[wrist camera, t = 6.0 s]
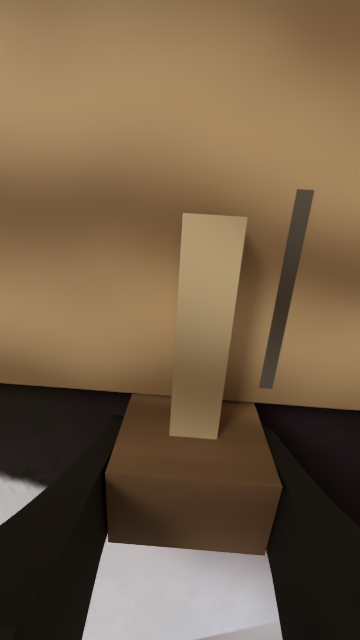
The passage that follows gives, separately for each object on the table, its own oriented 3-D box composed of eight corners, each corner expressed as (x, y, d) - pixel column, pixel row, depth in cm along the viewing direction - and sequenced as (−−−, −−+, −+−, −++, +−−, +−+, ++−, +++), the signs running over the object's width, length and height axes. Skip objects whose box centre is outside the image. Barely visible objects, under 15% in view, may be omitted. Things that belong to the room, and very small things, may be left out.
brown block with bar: (233, 438, 15) (259, 574, 9) (140, 430, 15) (109, 561, 9) (269, 220, 11) (352, 222, 5) (143, 212, 11) (92, 205, 5)
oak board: (396, 381, 13) (441, 417, 11) (-215, 335, 14) (-301, 360, 11) (520, 65, 9) (638, 11, 7) (-370, 15, 9) (-559, -54, 7)
